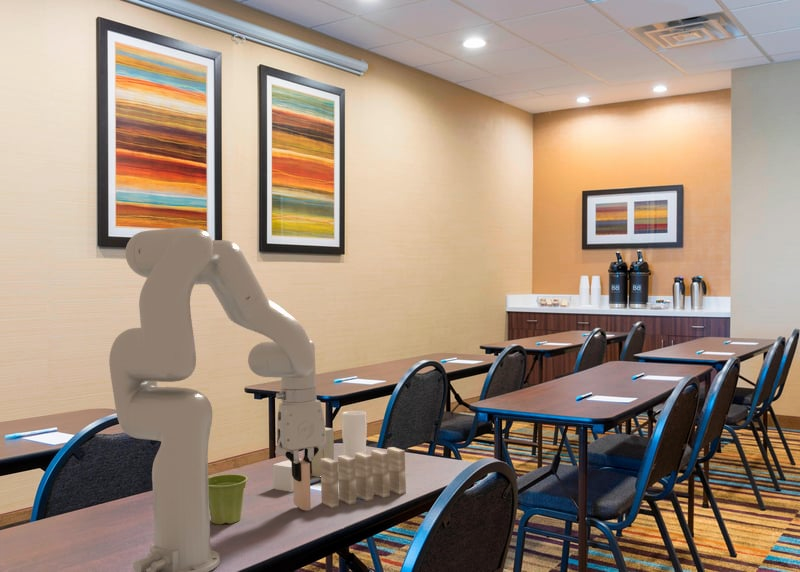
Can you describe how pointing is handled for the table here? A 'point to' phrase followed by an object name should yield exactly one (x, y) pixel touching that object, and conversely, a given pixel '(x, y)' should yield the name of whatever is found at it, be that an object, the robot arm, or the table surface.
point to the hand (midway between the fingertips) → (302, 478)
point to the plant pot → (226, 497)
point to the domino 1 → (303, 487)
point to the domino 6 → (397, 470)
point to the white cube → (283, 476)
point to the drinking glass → (354, 432)
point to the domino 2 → (329, 482)
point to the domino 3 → (347, 479)
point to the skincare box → (324, 452)
